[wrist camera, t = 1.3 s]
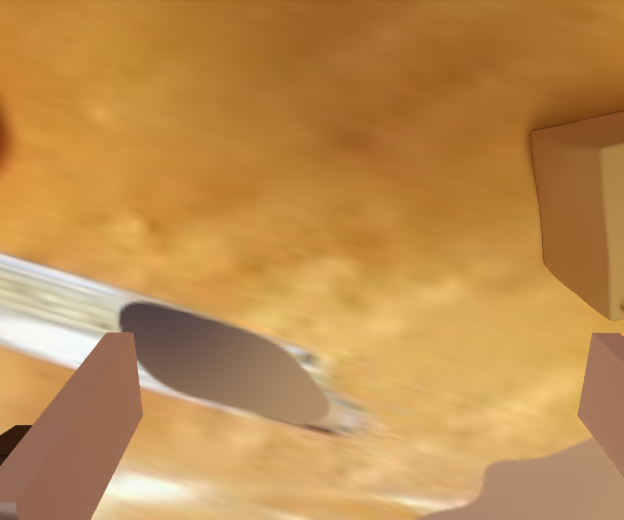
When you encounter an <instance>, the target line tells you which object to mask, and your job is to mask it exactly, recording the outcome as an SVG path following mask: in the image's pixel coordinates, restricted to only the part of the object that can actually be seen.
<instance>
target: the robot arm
mask: <svg viewBox="0 0 624 520" xmlns="http://www.w3.org/2000/svg"><path fill="white" fill-rule="evenodd" d="M142 416H143V412H142V403H141V394H140V386H139V377H138V369H137V360H136V352H135V343H134V334H133V333H106V334H105V335H104V336H103V338H102V339H101V340H100V342H99V343H98V344H97V345H96V347H95V348H94V349H93V350H92V352H91V353H90V354H89V355H88V357H87V358H86V359H85V360H84V362H83V363H82V364H81V365H80V367H79V368H78V369H77V370H76V372H75V373H74V374H73V375H72V377H71V378H70V379H69V380H68V382H67V383H66V384H65V386H64V387H63V388H62V389H61V391H60V392H59V393H58V394H57V396H56V397H55V398H54V399H53V401H52V402H51V403H50V404H49V406H48V407H47V408H46V409H45V411H44V412H43V413H42V414H41V416H40V417H39V418H38V419H37V421H36V422H35V423H34V424H33V425H15V426H14V427H12V428H11V429H9V430H8V431H6V432H5V433H3V434H2V435H0V520H91V518H92V516H93V514H94V512H95V510H96V508H97V506H98V504H99V502H100V500H101V498H102V496H103V494H104V492H105V490H106V488H107V486H108V484H109V482H110V480H111V478H112V476H113V474H114V472H115V470H116V468H117V466H118V464H119V462H120V460H121V458H122V456H123V454H124V452H125V450H126V448H127V446H128V444H129V442H130V440H131V438H132V436H133V434H134V432H135V430H136V428H137V426H138V424H139V422H140V420H141V418H142ZM578 417H579V418H580V419H581V421H582V422H583V423H584V425H585V426H586V427H587V429H588V430H589V431H590V433H591V434H592V435H593V437H594V438H595V439H596V440H597V442H598V443H599V444H600V446H601V447H602V448H603V450H604V451H605V452H606V454H607V455H608V456H609V458H610V459H611V460H612V462H613V463H614V464H615V466H616V467H617V468H618V470H619V471H620V472H621V473H622V475H623V476H624V337H623V336H622V335H621V334H620V333H592V338H591V343H590V349H589V354H588V360H587V366H586V371H585V377H584V383H583V388H582V394H581V400H580V405H579V411H578Z"/></svg>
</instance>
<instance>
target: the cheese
mask: <svg viewBox="0 0 624 520" xmlns="http://www.w3.org/2000/svg"><path fill="white" fill-rule="evenodd" d="M531 142H532V155H533V165H534V172H535V179H536V186H537V192H538V199H539V206H540V215H541V226H542V239H543V253H544V264H545V266H546V267H547V268H548V269H549V270H550V272H551V273H552V274H553V275H554V276H555V277H556V278H557V279H558V280H559V281H560V282H561V283H563V284H564V285H565V286H566V287H568V288H569V289H570V290H571V291H573V292H574V293H576V294H577V295H578V296H579V297H580V298H581V299H583V300H584V301H585V302H586V303H587V304H588V305H590V306H591V307H592V308H593V309H595V310H596V311H597V312H599V313H600V314H602V315H603V316H605V317H606V318H608V319H609V320H612V321H616V320H623V319H624V111H622V112H617V113H612V114H608V115H604V116H599V117H595V118H590V119H586V120H582V121H578V122H573V123H569V124H564V125H560V126H555V127H550V128H545V129H540V130H535V131H532V132H531Z"/></svg>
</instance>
